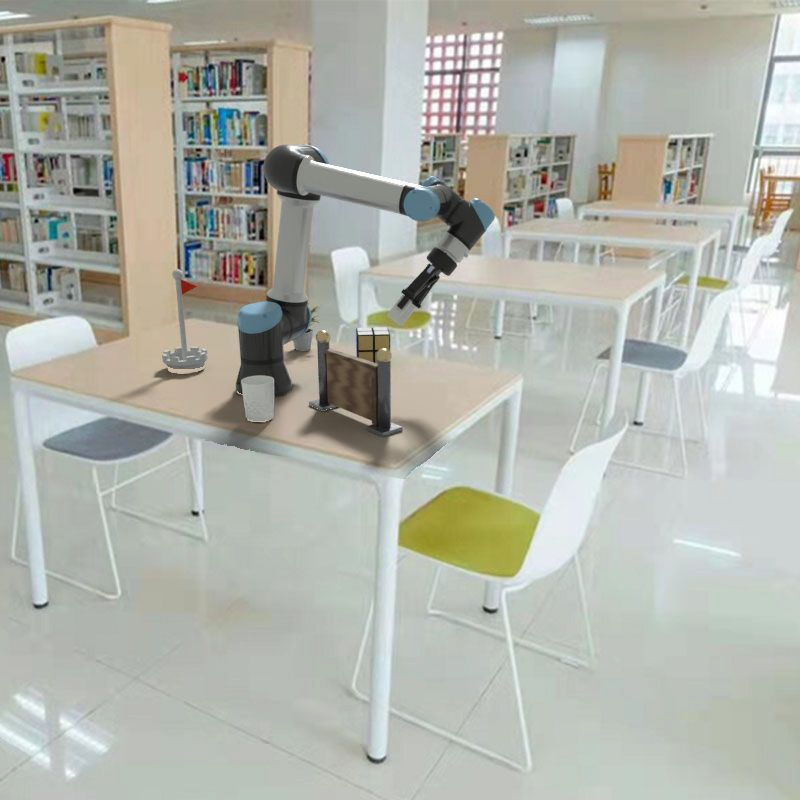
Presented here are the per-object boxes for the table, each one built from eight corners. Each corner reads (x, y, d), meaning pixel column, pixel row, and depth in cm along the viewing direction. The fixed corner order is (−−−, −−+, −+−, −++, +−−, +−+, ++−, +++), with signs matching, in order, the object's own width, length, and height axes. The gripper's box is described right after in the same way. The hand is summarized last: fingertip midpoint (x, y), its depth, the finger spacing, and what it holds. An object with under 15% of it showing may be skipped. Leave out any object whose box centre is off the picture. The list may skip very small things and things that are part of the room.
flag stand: (160, 376, 224) (150, 273, 214) (166, 364, 236) (157, 266, 227) (206, 374, 226) (198, 272, 216) (210, 362, 238) (202, 265, 228)
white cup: (275, 423, 186) (272, 384, 183) (242, 424, 185) (239, 385, 182) (277, 413, 193) (275, 374, 190) (245, 413, 193) (243, 375, 190)
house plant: (326, 354, 246) (325, 304, 241) (283, 356, 245) (280, 305, 239) (324, 343, 260) (323, 296, 255) (283, 345, 258) (281, 297, 253)
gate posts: (309, 405, 199) (306, 330, 192) (327, 400, 202) (325, 326, 196) (382, 436, 177) (382, 353, 171) (402, 430, 181) (402, 348, 175)
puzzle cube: (356, 358, 243) (355, 327, 240) (388, 357, 244) (387, 326, 240) (357, 367, 233) (357, 335, 230) (390, 366, 234) (390, 334, 231)
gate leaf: (326, 404, 196) (325, 349, 192) (332, 403, 197) (331, 348, 193) (376, 425, 182) (375, 366, 177) (381, 423, 183) (381, 364, 179)
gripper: (456, 255, 180) (400, 326, 182) (460, 271, 205) (410, 333, 207) (432, 236, 181) (375, 306, 182) (438, 254, 205) (388, 316, 207)
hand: (393, 321), depth 194 cm, fingers open, 13 cm apart
